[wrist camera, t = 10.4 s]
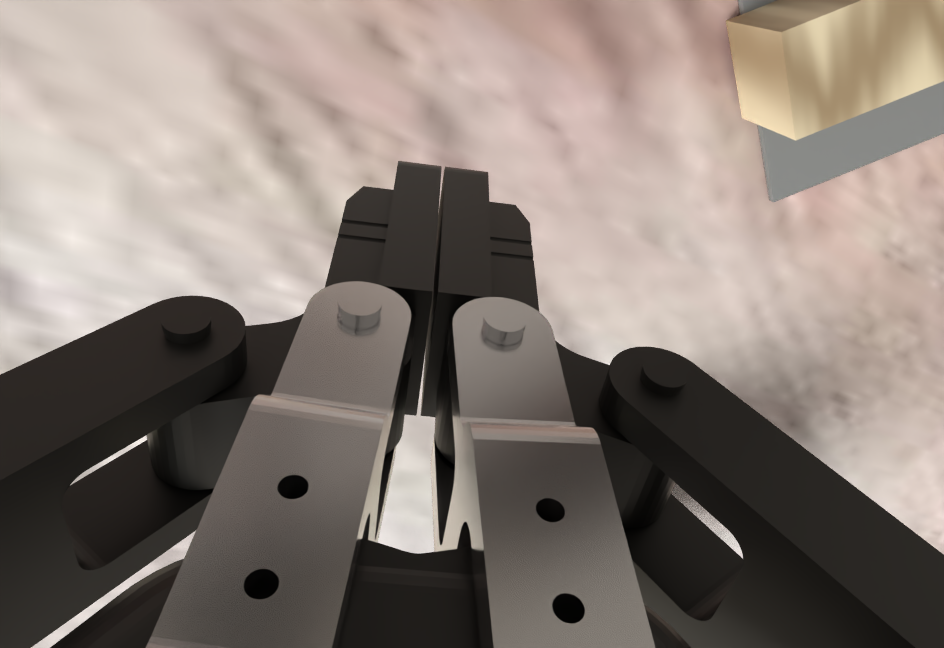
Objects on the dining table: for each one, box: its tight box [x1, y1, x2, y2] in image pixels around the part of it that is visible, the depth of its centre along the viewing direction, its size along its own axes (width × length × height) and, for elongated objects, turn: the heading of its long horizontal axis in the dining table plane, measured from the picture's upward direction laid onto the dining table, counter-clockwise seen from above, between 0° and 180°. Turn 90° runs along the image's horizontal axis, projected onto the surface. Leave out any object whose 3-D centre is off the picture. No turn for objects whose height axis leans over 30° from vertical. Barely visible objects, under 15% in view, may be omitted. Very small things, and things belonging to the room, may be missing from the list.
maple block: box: [726, 0, 944, 141], centre depth 33 cm, size 4×4×12 cm
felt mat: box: [738, 0, 944, 202], centre depth 35 cm, size 14×14×1 cm
